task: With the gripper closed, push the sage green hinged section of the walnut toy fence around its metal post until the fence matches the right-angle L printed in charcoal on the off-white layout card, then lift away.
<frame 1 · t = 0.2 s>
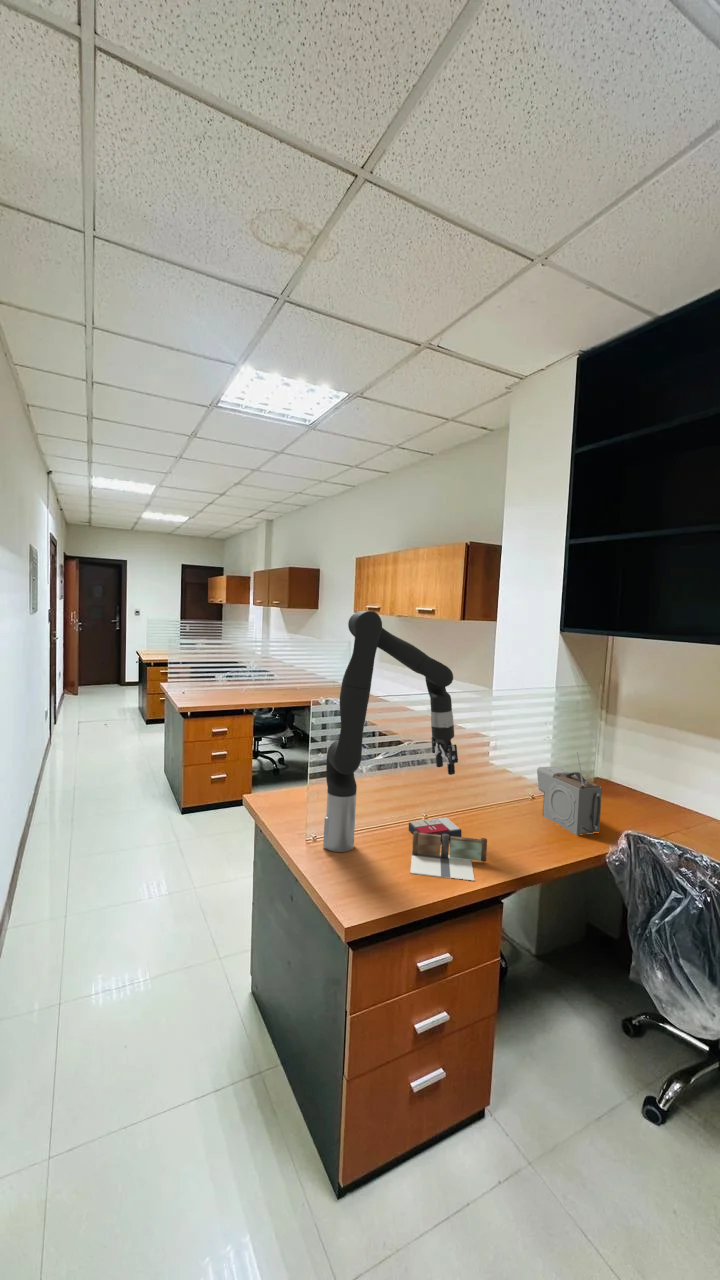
hand: (445, 770, 164), 23 cm above the table, tool pointing down, fingers open, 8 cm apart
layout card: (441, 865, 143), on the table
fence fixed section: (444, 858, 148), resting on layout card
portable television: (565, 823, 181), on the table
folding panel: (468, 848, 147), point 4 cm above the table, hinge at 0.0°
calculator: (434, 836, 165), on the table
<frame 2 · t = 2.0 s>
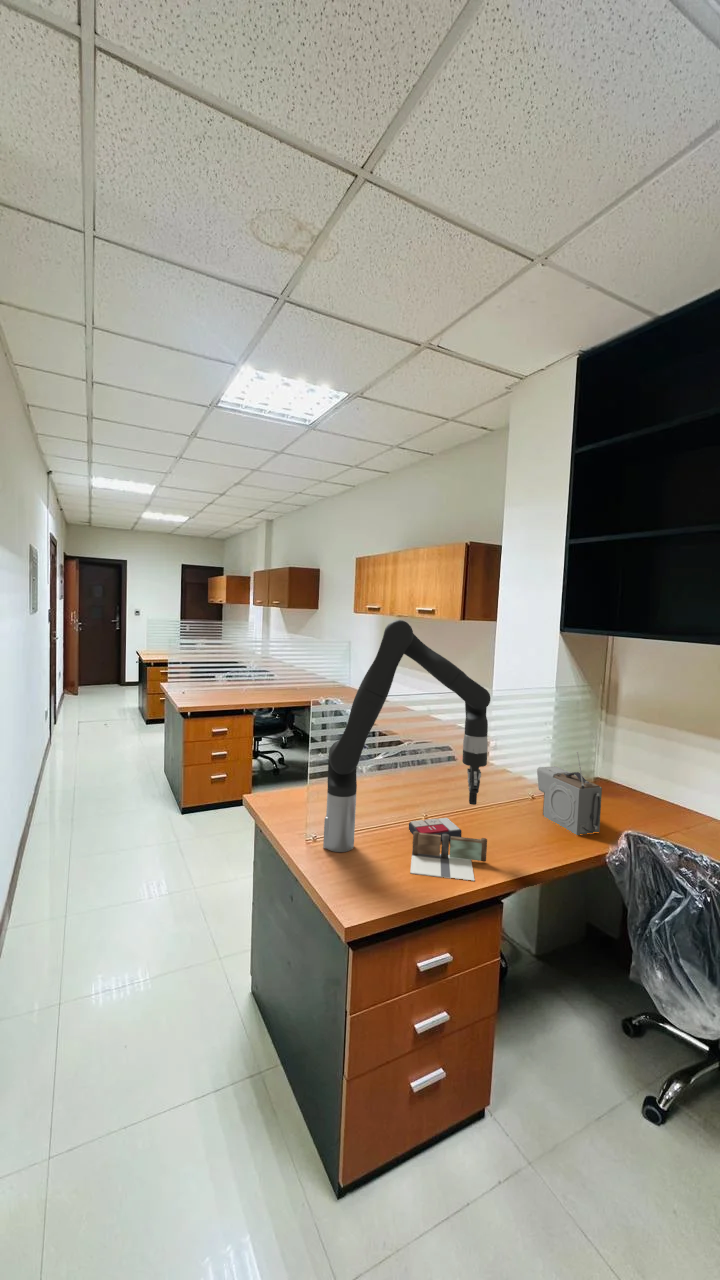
hand: (472, 803, 151), 16 cm above the table, tool pointing down, fingers closed
nothing on the table moved.
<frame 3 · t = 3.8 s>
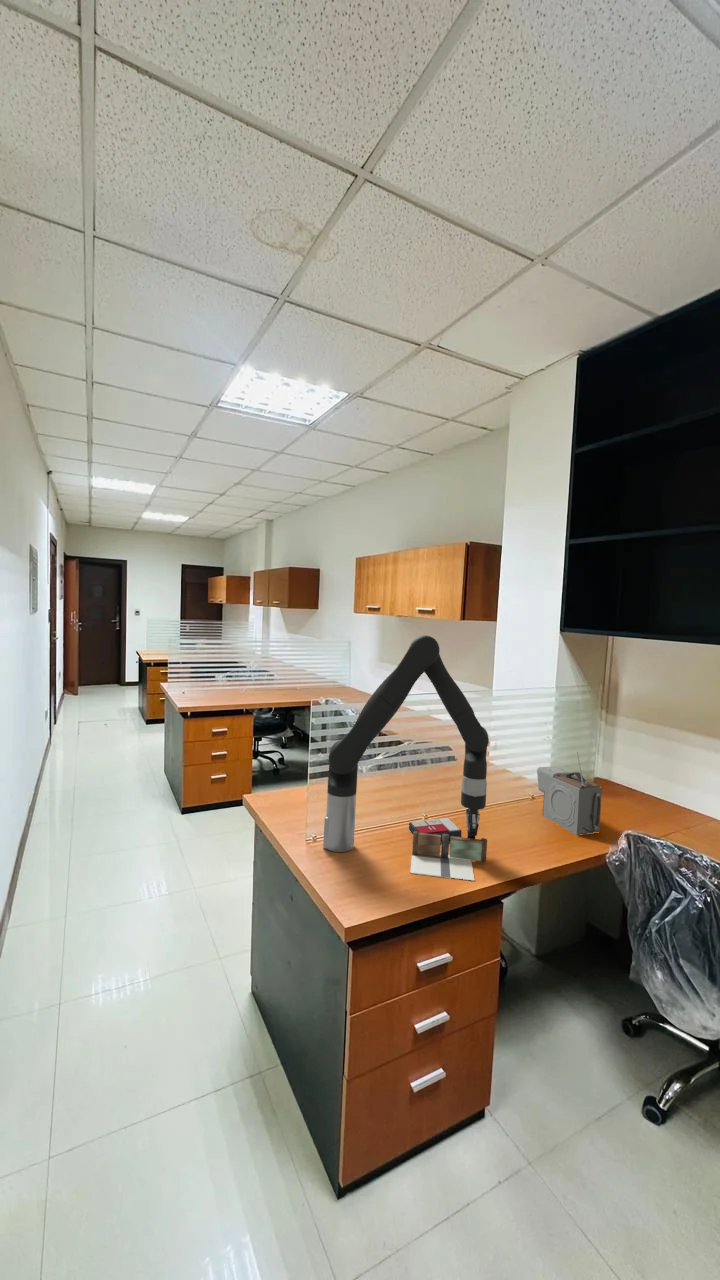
hand: (470, 845, 149), 4 cm above the table, tool pointing down, fingers closed
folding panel: (468, 848, 146), point 4 cm above the table, hinge at -0.7°, touching gripper
everything else where it was.
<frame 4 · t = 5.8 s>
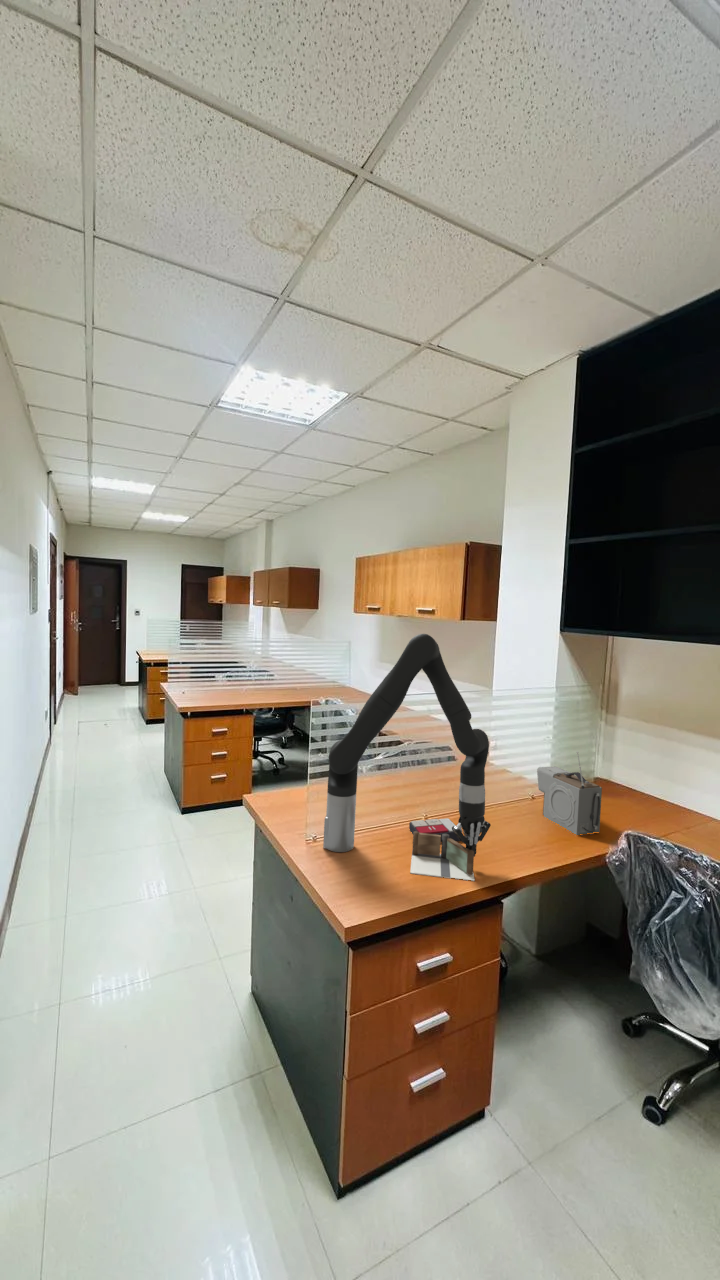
hand: (470, 856, 142), 4 cm above the table, tool pointing down, fingers closed
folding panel: (459, 855, 141), point 4 cm above the table, hinge at -53.7°, touching gripper
everything else where it was.
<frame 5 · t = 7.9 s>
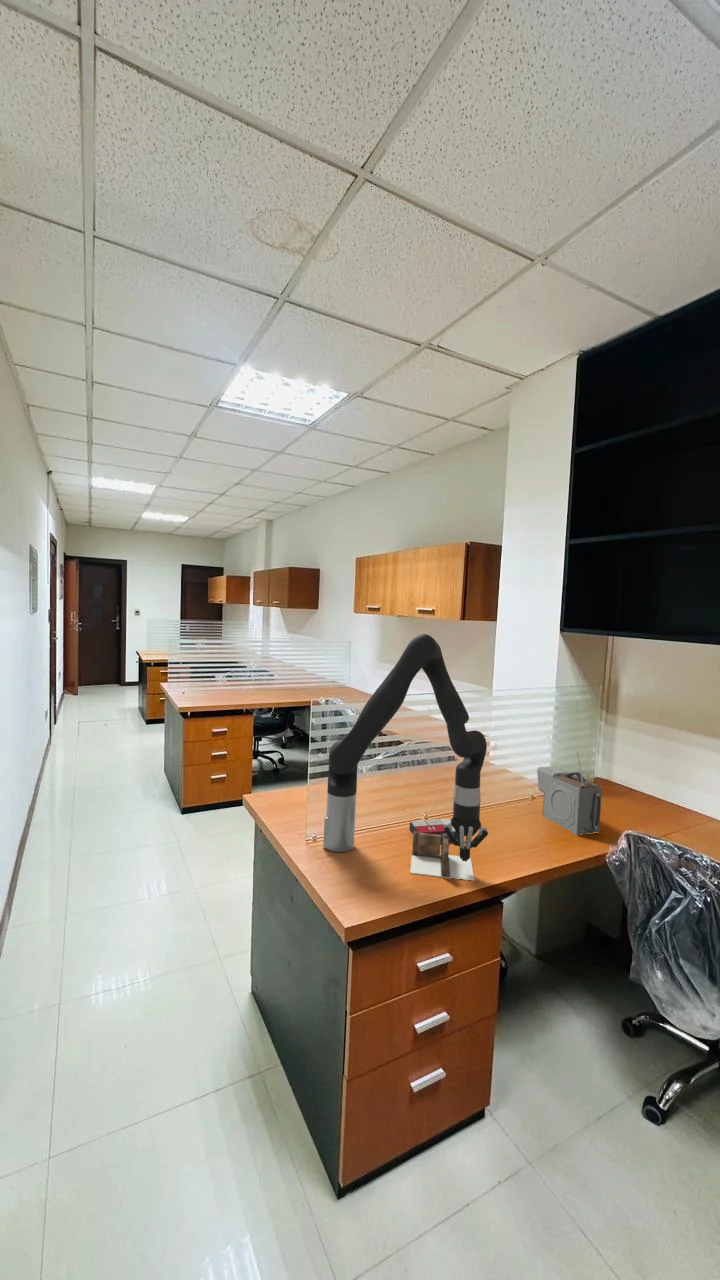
hand: (464, 860, 139), 4 cm above the table, tool pointing down, fingers closed
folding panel: (445, 855, 141), point 4 cm above the table, hinge at -92.0°
everything else where it was.
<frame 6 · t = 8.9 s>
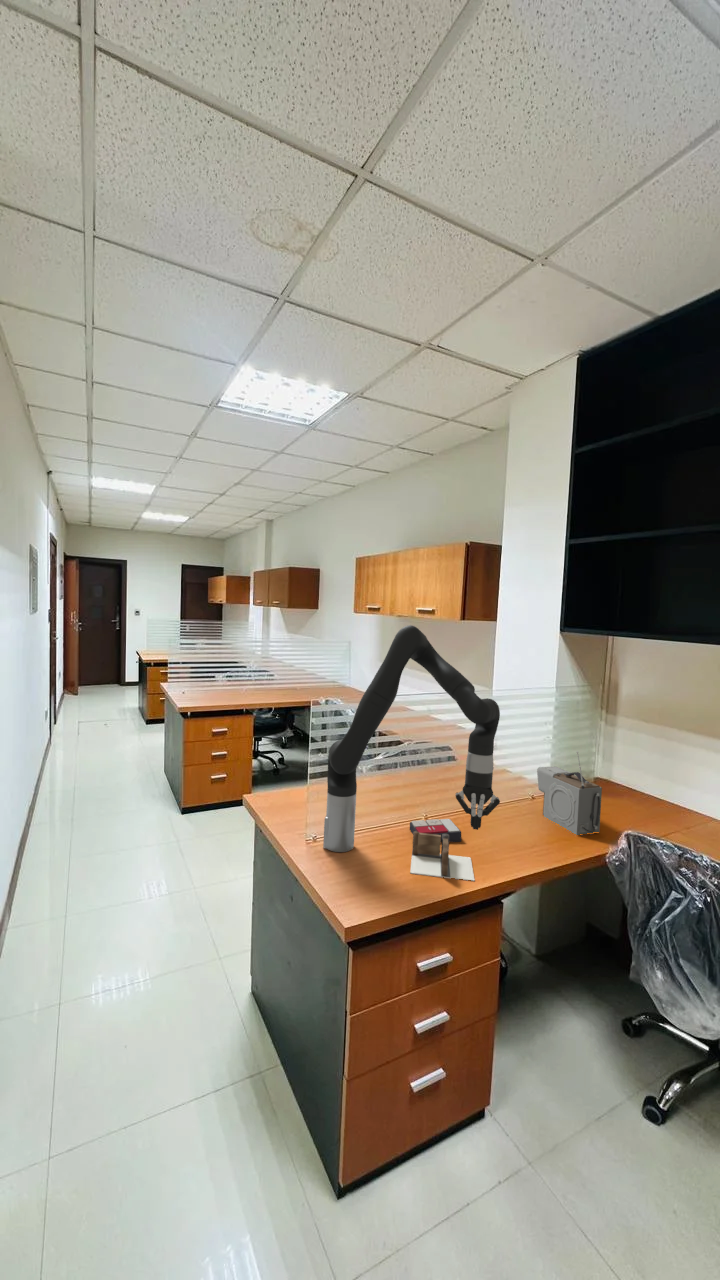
hand: (475, 828, 138), 14 cm above the table, tool pointing down, fingers closed
nothing on the table moved.
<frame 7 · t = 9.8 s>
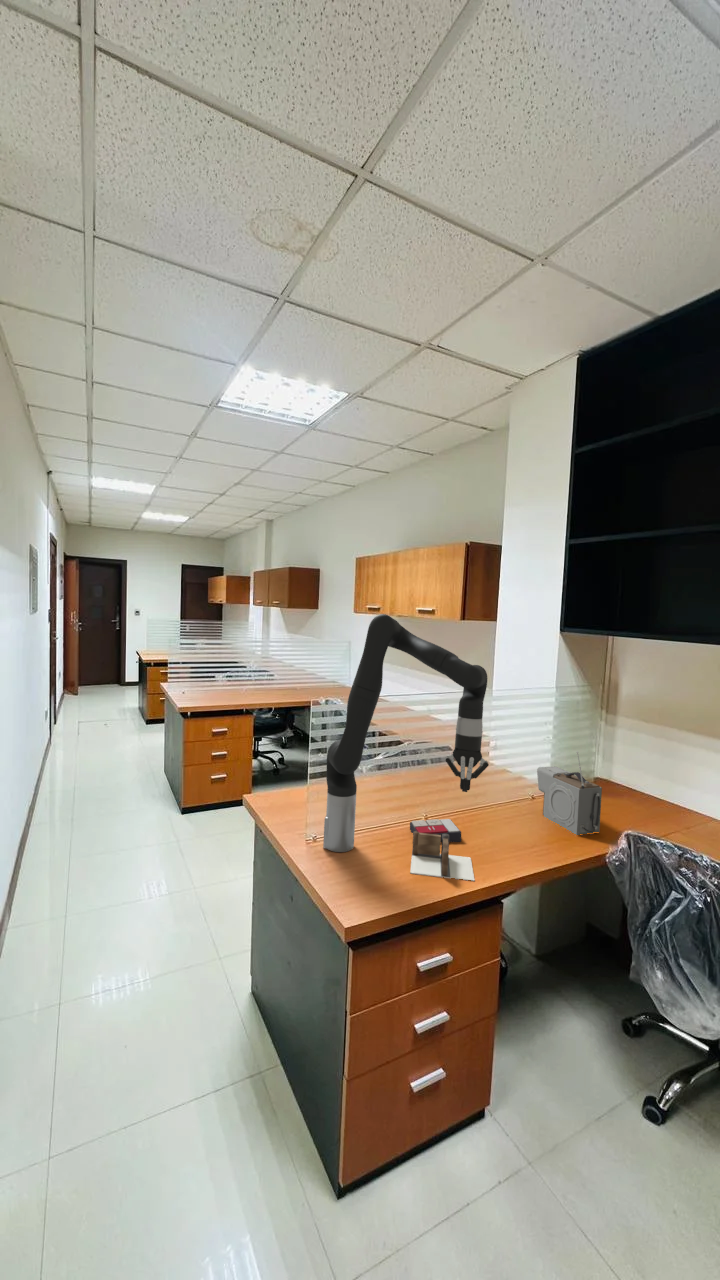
hand: (464, 791, 142), 23 cm above the table, tool pointing down, fingers closed
nothing on the table moved.
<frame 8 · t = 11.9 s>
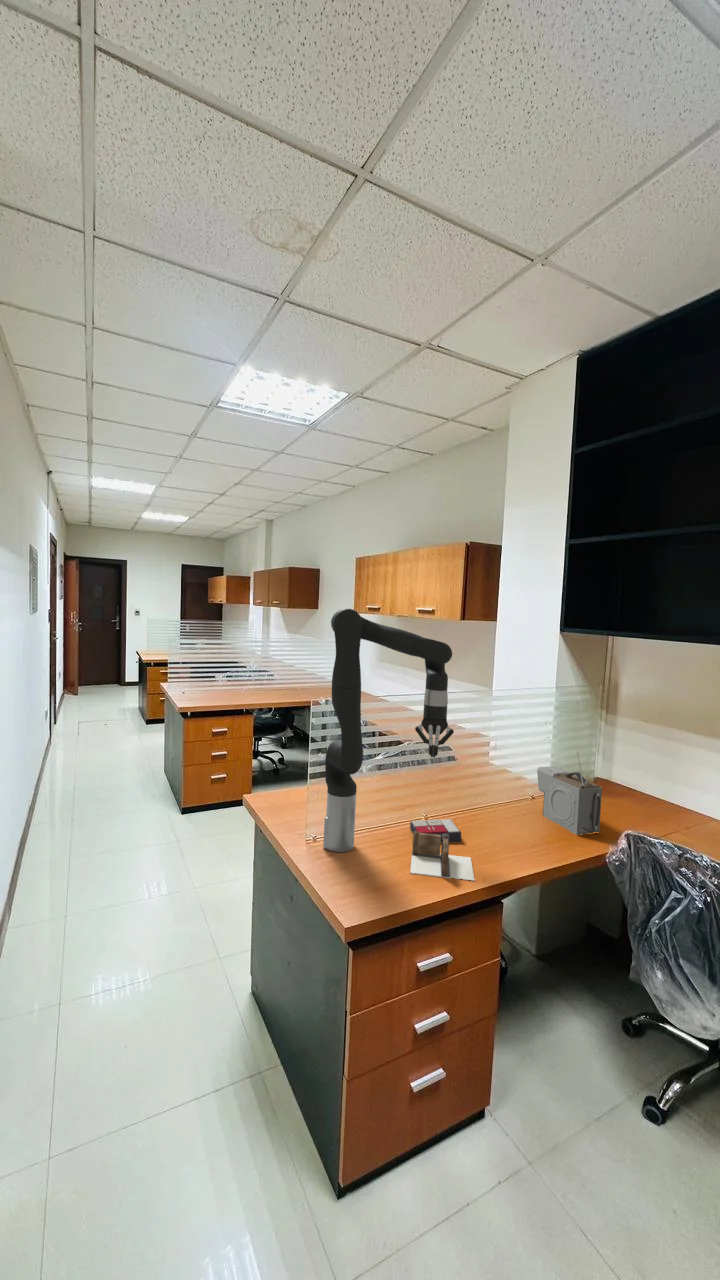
hand: (432, 756, 156), 29 cm above the table, tool pointing down, fingers closed
at the end: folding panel at -92° (first picture: +0°); calculator moved 0.9 cm from its start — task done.
